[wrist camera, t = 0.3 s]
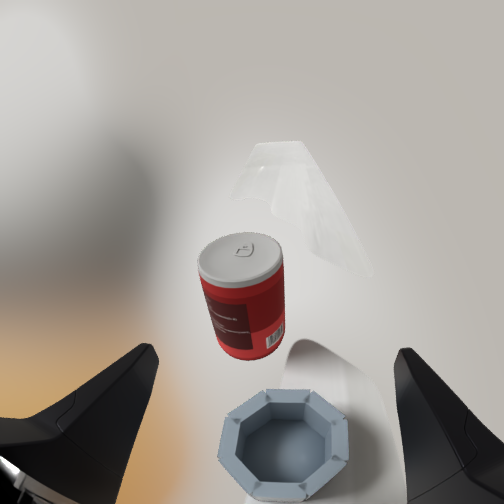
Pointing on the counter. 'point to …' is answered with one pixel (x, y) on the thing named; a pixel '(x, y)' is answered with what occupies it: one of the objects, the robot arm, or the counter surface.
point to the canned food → (245, 293)
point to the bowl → (284, 444)
